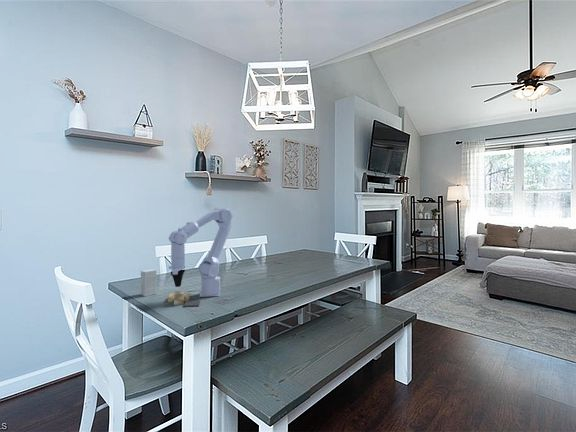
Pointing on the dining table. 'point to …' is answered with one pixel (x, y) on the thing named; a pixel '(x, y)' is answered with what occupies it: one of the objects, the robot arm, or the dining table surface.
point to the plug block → (178, 297)
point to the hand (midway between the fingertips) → (178, 286)
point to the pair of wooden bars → (173, 297)
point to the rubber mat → (192, 303)
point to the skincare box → (148, 282)
